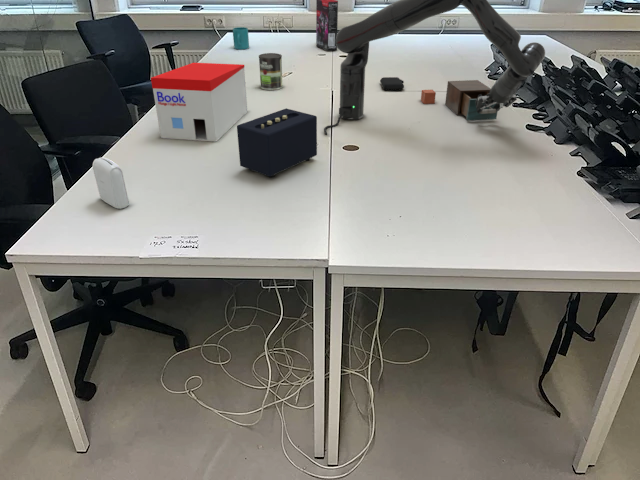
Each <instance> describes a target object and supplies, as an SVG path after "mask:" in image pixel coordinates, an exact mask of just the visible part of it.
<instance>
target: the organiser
mask: <svg viewBox="0 0 640 480" xmlns="http://www.w3.org/2000/svg"><path fill="white" fill-rule="evenodd" d="M490 90H491V87H489V86H487V85H486V84H485V83H483V82H481V81H480V80H478V79H469V80H466V79H465V80H448V81H447V85H446V94H445V102H444V105H445V106H446V107H447V108H448V109H450V110H451V112H453V113H454V114H455V115H456V116H464V115H463V114H462V113H461V112H460V105H461V98H462V93H469V92H488V93H490Z"/></svg>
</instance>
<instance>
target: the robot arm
mask: <svg viewBox="0 0 640 480" xmlns="http://www.w3.org/2000/svg"><path fill="white" fill-rule="evenodd" d="M459 6H463V7H464V8H465V9H467V10H468V11H469V12H470V14H471V15H472V17H473V18H474V20H475V21H476V23H477V24H478V26H479V28H480V30H481V32H482V34H483V35H484V36H485V38H486V39H487V40H488V41H489V42H490V43H491V44H492V45H493V46H495V48H497V49H498V50H499V51H500V52H501V53H502V55H503V57H504V60H506V62H507V63H508V65H509V66H508V67H507V68H506V69H505V71H504V72H503V74H501V75H500V76H499V77H498V78H497V80H496V81H495V82H494V84H493V85H492V86H491V87H490V89H491V90H490V93H489V94H487V95H486V96H482V95H481V94H480V95H478V97H477V99H476V102H475V103H476V109H477V112H478V113H481V112H482V110H483V109H484V108H485V107H489V106H491V105H493V104H496V105H495V106H494V108H493V109H496V112H497V111H498V112H499V111H500V110H501V109H503V108H504V107H505V108H508V107H510V106H511V105H512V104H514V103H515V102H516V101H517V92H518V91H519V90H520V89H521V86H523V84H524V83H525V82H526V81H527V79H528V78H529V77H530V76H532V74H534V73H535V71H537V68H538V67H539V66H541V63H542V62H543V61H544V60H545V57H546V50H545V47H544V46H543V45H542V43H539V42H533V41H532V42H530V43H527V44H526V45H525V46H524V47H523V48H522V49H521V48H520V46H519V44H520V42H521V38H522V36H521V34H520V33H519V31H517V29H515V27H514V26H512V25H511V24H510V23H509V22H508V21H506V19H504V17H503V16H501V14H499V12H498V11H497V10H496V9H495V8H494V7H493V6H492V5H491V3H490V2H489V1H488V0H396V1H393V2H392V3H390V4H388V5H386V6H384V7H383V8H381V9H380V10H377V11H375V12H374V13H373V14H371V15H370V16H368V17H366V18H364V19H363V20H361V21H359V22H356V23H353V24H350V25H348V26H343V27H342V28H341V29H339V31H337V36H336V46H337V50H339V51H340V52H342V53H344V54H347V55H346V57H345V58H344V60H343V61H342V62H341V63H340V68H339V69H340V70H339V71H340V72H339V73H340V74H339V75H340V77H339V107H338V115H339V117H338V119H337V122H336V123H334V124H331V125H327V126H325V127H324V128H323V131H324V135H325V136H327V135H328V131H327V129H329V128H334V127H337V126H339V124H340V122H341V119H342V120H347V121H349V120H350V121H359V120H360V119H363V118H364V110H365V109H364V108H365V85H366V83H365V82H366V81H365V80H366V67H367V65H368V60H369V53H370V52H369V51H370V42H372V41H376V40H381V39H384V38H388V37H391V36H395V35H397V34H399V33H402V32H404V31H407V30H408V29H410V28H412V27H413V26H416V25H418V24H419V23H421V22H423V21H425V20H428V18H431V17H435V16H438V15H441V14H444V13H447V12H451V11H454V10H456V9H457V8H458V7H459ZM483 103H484V105H483ZM488 103H489V104H488ZM498 112H497V113H498Z"/></svg>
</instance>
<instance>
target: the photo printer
mask: <svg viewBox="0 0 640 480" xmlns="http://www.w3.org/2000/svg"><path fill="white" fill-rule="evenodd" d="M92 170H93V174H94V179H95V182H96V186H97V191H98V194H99V197H100V199H101V200H102V201H103V202H104V203H106V204H108V205H110V206H111V207H113V208H115V209H119V210H120V209H124V208H127V207H128V206H129V205H130V200H129V195H128V191H127V186H126V182H125V178H124V173H123V170H122V168H121V167H120V165H119V164H118V163H116V162H114V161H113V160H111V159H110V158H108V157H98V158H95V159H94V160H93V162H92Z"/></svg>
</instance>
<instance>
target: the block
mask: <svg viewBox="0 0 640 480" xmlns="http://www.w3.org/2000/svg"><path fill="white" fill-rule="evenodd" d="M436 95H437V92H436V91H435V90H434V89H421V95H420V102H421V103H422V104H423V105H430V104H431V105H432V104H435V102H436Z"/></svg>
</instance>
